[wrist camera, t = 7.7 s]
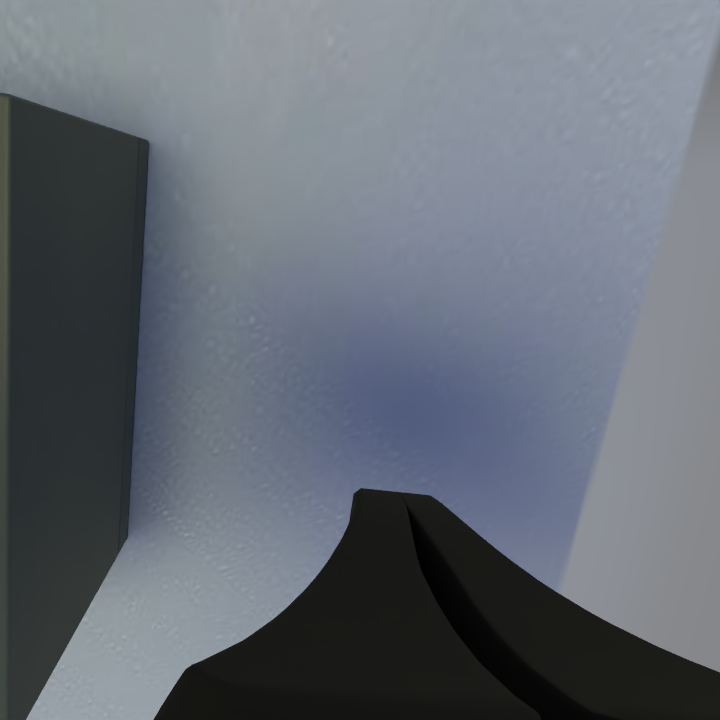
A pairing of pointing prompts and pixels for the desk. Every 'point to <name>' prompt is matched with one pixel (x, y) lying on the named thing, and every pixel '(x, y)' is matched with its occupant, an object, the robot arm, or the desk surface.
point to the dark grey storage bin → (63, 376)
